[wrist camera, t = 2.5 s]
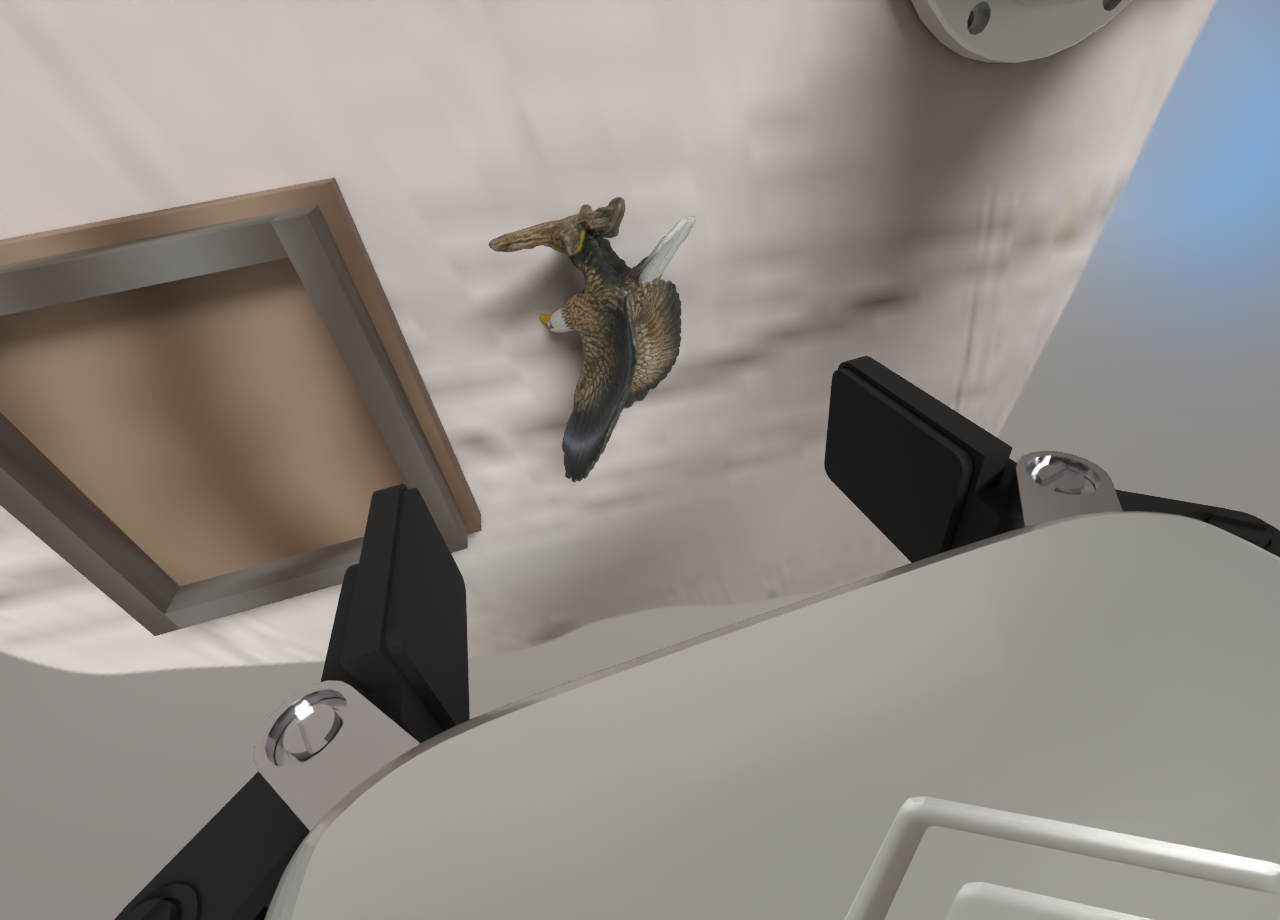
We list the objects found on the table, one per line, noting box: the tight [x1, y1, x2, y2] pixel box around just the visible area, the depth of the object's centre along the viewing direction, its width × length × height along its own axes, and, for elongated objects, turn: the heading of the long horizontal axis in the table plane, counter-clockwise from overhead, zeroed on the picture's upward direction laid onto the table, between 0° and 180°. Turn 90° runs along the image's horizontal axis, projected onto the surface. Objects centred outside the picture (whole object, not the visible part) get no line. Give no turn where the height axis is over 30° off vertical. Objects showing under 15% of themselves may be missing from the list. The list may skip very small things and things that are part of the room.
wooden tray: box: [0, 178, 481, 636], centre depth 20 cm, size 14×15×3 cm
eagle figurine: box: [489, 197, 696, 482], centre depth 20 cm, size 8×7×9 cm
